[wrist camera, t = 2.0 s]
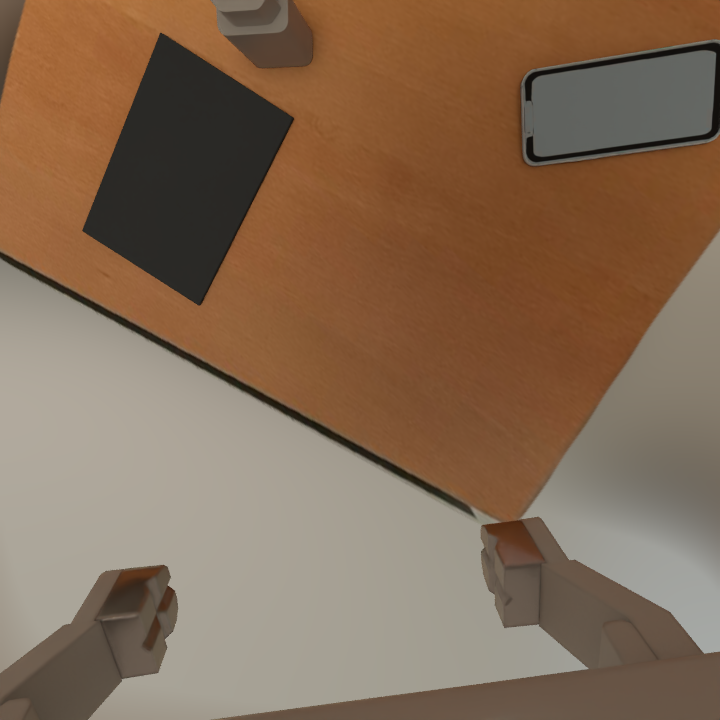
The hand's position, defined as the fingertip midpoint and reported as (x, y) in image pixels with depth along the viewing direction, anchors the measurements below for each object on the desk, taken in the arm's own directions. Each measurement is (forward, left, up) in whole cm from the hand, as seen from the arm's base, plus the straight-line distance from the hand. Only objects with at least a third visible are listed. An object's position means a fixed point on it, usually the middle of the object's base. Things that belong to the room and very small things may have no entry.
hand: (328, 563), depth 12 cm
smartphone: (-12, +21, -35) cm, 43 cm away
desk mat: (-19, -17, -35) cm, 44 cm away
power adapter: (-26, -4, -35) cm, 44 cm away
